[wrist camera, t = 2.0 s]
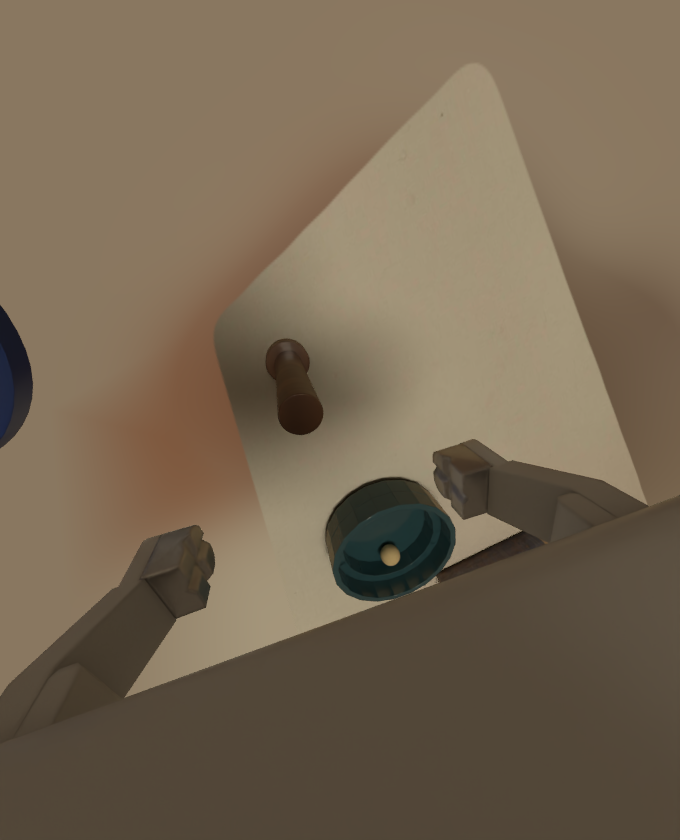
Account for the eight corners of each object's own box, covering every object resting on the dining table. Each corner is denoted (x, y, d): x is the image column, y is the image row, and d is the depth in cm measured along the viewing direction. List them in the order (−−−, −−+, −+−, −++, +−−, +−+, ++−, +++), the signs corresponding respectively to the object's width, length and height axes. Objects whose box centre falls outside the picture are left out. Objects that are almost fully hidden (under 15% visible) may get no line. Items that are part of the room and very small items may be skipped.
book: (583, 599, 53) (466, 657, 52) (551, 569, 60) (446, 620, 58) (586, 543, 46) (450, 609, 45) (549, 515, 52) (429, 573, 51)
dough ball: (378, 556, 45) (385, 572, 42) (376, 543, 44) (383, 559, 41) (396, 550, 45) (404, 566, 43) (394, 537, 44) (402, 553, 41)
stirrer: (273, 383, 31) (274, 457, 17) (260, 344, 29) (250, 389, 15) (311, 373, 32) (344, 437, 17) (301, 334, 30) (329, 368, 15)
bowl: (338, 579, 46) (346, 616, 41) (312, 498, 38) (319, 531, 33) (435, 545, 48) (456, 576, 43) (430, 461, 40) (454, 487, 35)
